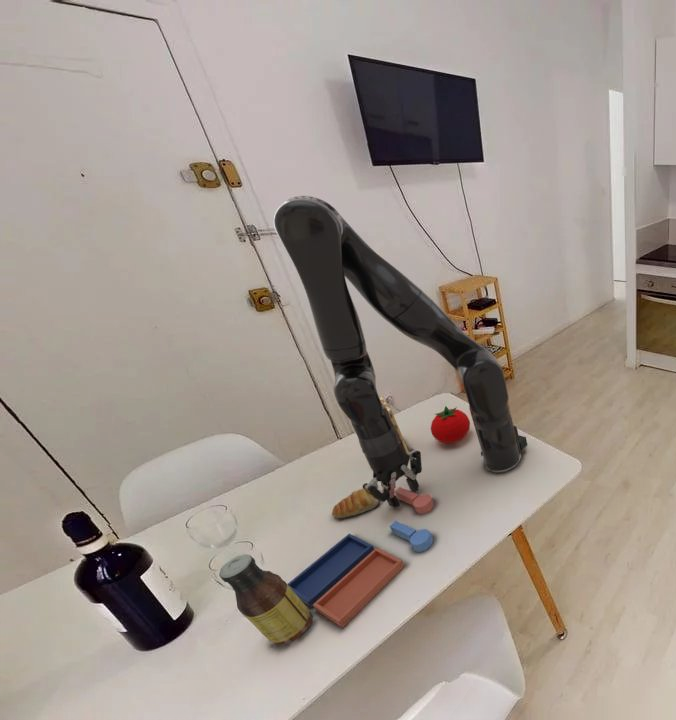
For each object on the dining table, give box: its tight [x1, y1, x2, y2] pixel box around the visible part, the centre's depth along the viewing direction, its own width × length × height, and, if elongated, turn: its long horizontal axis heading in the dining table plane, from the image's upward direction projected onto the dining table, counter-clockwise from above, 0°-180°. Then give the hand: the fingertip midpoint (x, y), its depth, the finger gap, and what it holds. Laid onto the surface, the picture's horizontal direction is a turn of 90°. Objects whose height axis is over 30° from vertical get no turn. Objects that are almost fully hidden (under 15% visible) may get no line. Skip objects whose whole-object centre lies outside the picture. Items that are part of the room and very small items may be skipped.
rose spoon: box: [394, 486, 435, 515], centre depth 99 cm, size 11×4×3 cm, turn 66°
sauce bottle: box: [218, 553, 313, 646], centre depth 70 cm, size 6×6×20 cm
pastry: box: [331, 488, 379, 519], centre depth 98 cm, size 9×7×4 cm
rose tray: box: [313, 547, 405, 629], centre depth 81 cm, size 13×8×2 cm, turn 156°
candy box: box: [379, 397, 410, 453], centre depth 113 cm, size 9×4×15 cm, turn 44°
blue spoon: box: [389, 520, 434, 553], centre depth 90 cm, size 11×4×3 cm, turn 66°
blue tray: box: [287, 533, 375, 609], centre depth 84 cm, size 13×8×2 cm, turn 156°
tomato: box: [430, 405, 471, 444], centre depth 118 cm, size 10×10×10 cm
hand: (405, 497), depth 101 cm, fingers open, 4 cm apart
